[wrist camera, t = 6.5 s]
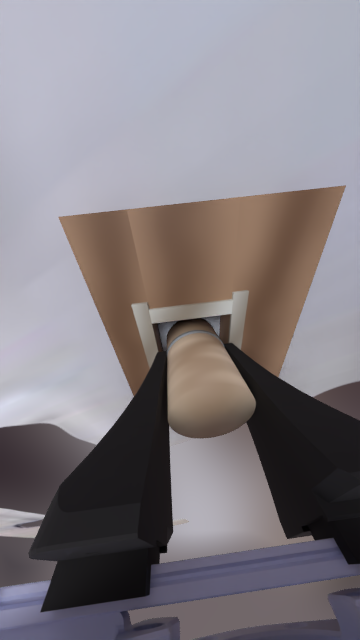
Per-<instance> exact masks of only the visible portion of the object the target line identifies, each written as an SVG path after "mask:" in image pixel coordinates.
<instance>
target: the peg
mask: <svg viewBox="0 0 360 640" xmlns="http://www.w3.org/2000/svg"><path fill="white" fill-rule="evenodd" d="M167 396H168V423H169V425H170V427H171V428H172V429H173V430H174V431H175V432H177V433H178V434H180V435H183V436H186V437H191V438H211V437H216V436H220V435H224V434H227V433H229V432H231V431H234V430H235V429H237V428H239V427H240V426H242V425H243V424H245V423H246V422H247V421H248V420H249V419H250V418H251V416H252V415H253V413H254V411H255V407H256V401H255V398H254V396H253V395H252V393H251V391H250V389H249V388H248V386H247V384H246V383H245V381H244V379H243V378H242V376H241V374H240V373H239V371H238V369H237V368H236V366H235V364H234V363H233V361H232V359H231V358H230V356H229V354H228V353H227V351H226V349H225V347H224V344H223V343H222V341H221V340H220V338H219V337H218V336H217V334H216V332H215V331H214V329H213V327H212V326H211V325H210V324H209V323H208V322H207V321H205V320H203V319H201V318H194V319H186V320H180V321H178V322H177V323H175V324H174V325H173V326H172V327H171V329H170V330H169V332H168V335H167Z"/></svg>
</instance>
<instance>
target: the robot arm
mask: <svg viewBox="0 0 360 640" xmlns="http://www.w3.org/2000/svg"><path fill="white" fill-rule="evenodd" d="M224 347H225V349H226V351H227V353H228V354H229V356H230V358H231V359H232V361H233V363H234V364H235V366H236V368H237V369H238V371H239V373H240V374H241V376H242V378H243V379H244V381H245V383H246V384H247V386H248V388H249V389H250V391H251V393H252V395H253V396H254V398H255V401H256V407H255V411H254V413H253V415H252V416H251V418H250V419H249V420H248V421H247V425H248V427H249V430H250V433H251V435H252V438H253V441H254V444H255V446H256V449H257V452H258V455H259V458H260V461H261V464H262V467H263V470H264V472H265V476H266V479H267V482H268V485H269V488H270V491H271V494H272V497H273V500H274V503H275V507H276V510H277V513H278V516H279V520H280V523H281V525H282V527H283V530H284V533H285V535H286V537H287V539H290V538H297V537H304V536H310V535H312V536H313V538H314V540H315V541H309V542H302V543H296V544H288V545H282V546H276V547H268V548H261V549H255V550H248V551H242V552H235V553H229V554H222V555H215V556H208V557H201V558H194V559H188V560H182V561H174V562H168V563H161V564H159V559H160V553H167V543H168V542H169V540H170V538H171V535H172V533H173V519H172V499H171V498H172V497H171V474H170V444H169V423H168V396H167V351H162V352H157V354H156V356H155V359H154V361H153V363H152V365H151V368H150V370H149V372H148V374H147V375H146V377H145V379H144V381H143V383H142V384H141V386H140V388H139V390H138V391H137V393H136V394H135V396H134V398H133V399H132V401H131V402H130V403H129V405H128V406H127V408H126V409H125V411H124V412H123V413H122V415H121V416H120V417H119V419H118V420H117V421H116V423H115V424H114V425H113V426H112V428H111V429H110V430H109V431H108V432H107V434H106V435H105V436H104V437H103V438H102V440H101V441H100V442H99V443H98V444H97V446H96V447H95V448H94V449H93V450H92V452H90V454H89V455H88V456H87V457H86V458H85V459H84V460H83V461H82V462H81V463H80V464H79V465H78V467H77V468H76V469H75V470H74V471H73V472H72V473H71V474H70V475H69V476H68V477H67V478H66V479H65V480H64V482H63V483H62V484H61V485H60V486H59V489H58V491H57V493H56V494H55V496H54V498H53V500H52V502H51V504H50V506H49V508H48V511H47V513H46V515H45V517H44V520H43V522H42V524H41V526H40V528H39V531H38V533H37V535H36V537H35V540H34V542H33V544H32V547H31V549H30V551H29V558H31V559H37V560H49V561H58V562H57V565H56V568H55V571H54V574H53V576H52V579H51V580H47V581H40V582H34V583H27V584H20V585H14V586H7V587H0V640H180V621H179V619H178V617H162V618H152V619H148V620H144V621H141V622H138V623H136V624H134V625H131V622H130V616H129V613H128V610H135V609H142V608H148V607H155V606H161V605H168V604H174V603H181V602H187V601H194V600H200V599H207V598H213V597H219V596H226V595H233V594H239V593H246V592H252V591H258V590H265V589H271V588H278V587H285V586H291V585H297V584H304V583H310V582H317V581H324V580H330V579H337V578H343V577H350V576H356V575H360V421H359V420H357V419H355V418H353V417H351V416H349V415H347V414H344V413H342V412H340V411H338V410H336V409H334V408H332V407H330V406H328V405H326V404H324V403H322V402H320V401H318V400H316V399H314V398H313V397H311V396H309V395H307V394H305V393H303V392H302V391H300V390H298V389H296V388H295V387H293V386H291V385H290V384H288V383H286V382H285V381H283V380H281V379H280V378H278V377H277V376H275V375H274V374H272V373H271V372H269V371H268V370H266V369H265V368H264V367H262V366H261V365H259V364H258V363H257V362H255V361H254V360H253V359H251V358H250V357H249V356H248V355H246V354H245V353H244V352H243V351H241V350H240V349H239V348H238V347H237V346H235V345H234V344H233V343H226V344H224ZM328 600H329V603H330V605H331V607H332V609H333V612H334V614H335V616H336V618H337V619H327V620H316V621H304V622H292V623H281V624H272V625H263V626H255V627H248V628H242V629H237V630H232V631H226V632H222V633H218V634H213V635H209V636H205V637H200V638H197V639H192V640H360V588H351V589H344V590H340V591H337V592H333V593H330V594H328Z"/></svg>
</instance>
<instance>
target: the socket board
mask: <svg viewBox="0 0 360 640" xmlns="http://www.w3.org/2000/svg"><path fill="white" fill-rule="evenodd" d="M345 187H346V186H338V187H329V188H319V189H310V190H301V191H292V192H283V193H274V194H265V195H255V196H246V197H237V198H228V199H219V200H210V201H201V202H191V203H182V204H173V205H164V206H155V207H146V208H137V209H127V210H118V211H109V212H100V213H91V214H82V215H73V216H63V217H59V220H60V222H61V224H62V227H63V229H64V232H65V234H66V236H67V239H68V241H69V243H70V246H71V248H72V251H73V253H74V255H75V258H76V260H77V262H78V265H79V267H80V269H81V272H82V274H83V277H84V279H85V281H86V284H87V286H88V288H89V291H90V293H91V296H92V298H93V300H94V303H95V305H96V307H97V310H98V312H99V315H100V317H101V319H102V322H103V324H104V326H105V329H106V331H107V333H108V336H109V338H110V341H111V343H112V345H113V348H114V350H115V352H116V355H117V357H118V360H119V362H120V364H121V367H122V369H123V371H124V374H125V376H126V378H127V381H128V383H129V386H130V388H131V390H132V393H133V395H134V396H135V394H136V393H137V391H138V390H139V388H140V386H141V384H142V383H143V381H144V379H145V377H146V375H147V374H148V372H149V370H150V368H151V365H152V363H153V361H154V359H155V356H156V354H157V352H162V351H163V348H162V344H161V339H160V334H159V329H158V324H157V323H161V322H170V321H178V320H186V319H194V318H202V317H210V316H219V315H221V317H220V340H221V341H222V343H223V344H226V343H233V344H234V345H235V346H237V347H238V348H239V349H240V350H241V351H243V352H244V353H245V354H246V355H248V356H249V357H250V358H251V359H253V360H254V361H255V362H257V363H258V364H259V365H261V366H262V367H264V368H265V369H266V370H268V371H269V372H271V373H272V374H274V375H275V376H277V377H278V376H279V373H280V371H281V368H282V365H283V362H284V359H285V356H286V354H287V351H288V348H289V345H290V342H291V339H292V337H293V334H294V331H295V328H296V325H297V322H298V320H299V317H300V314H301V311H302V308H303V305H304V303H305V300H306V297H307V294H308V291H309V288H310V286H311V283H312V280H313V277H314V274H315V271H316V269H317V266H318V263H319V260H320V257H321V255H322V252H323V249H324V246H325V243H326V240H327V238H328V235H329V232H330V229H331V226H332V223H333V221H334V218H335V215H336V212H337V209H338V206H339V204H340V201H341V198H342V195H343V192H344V189H345Z"/></svg>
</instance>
